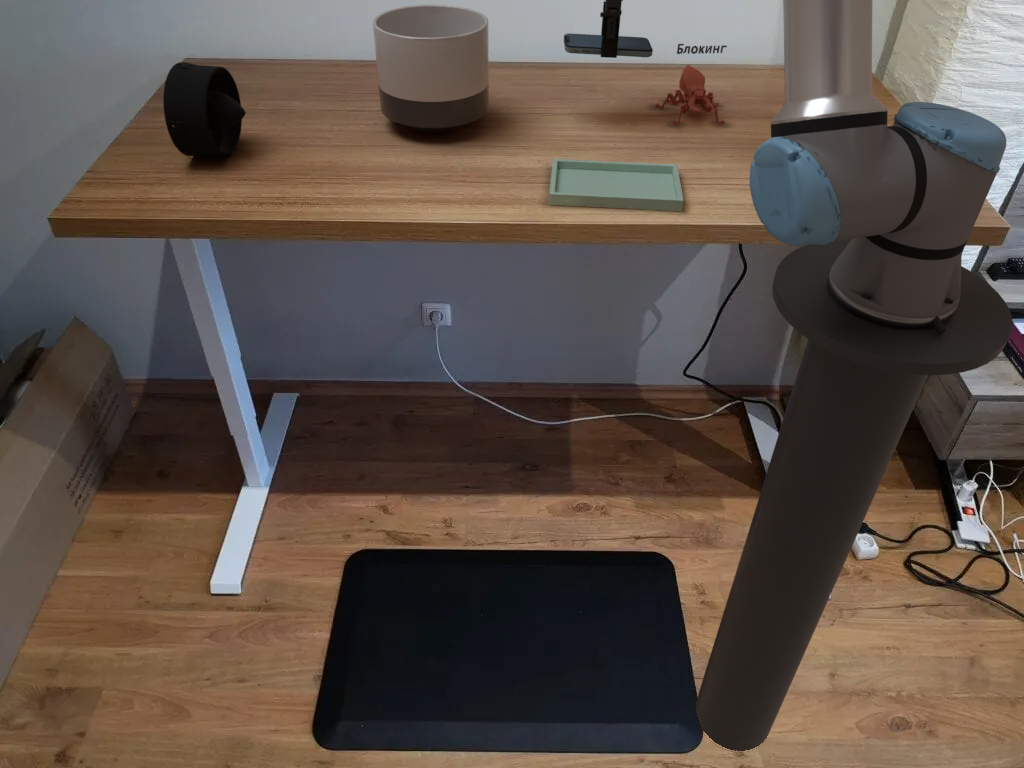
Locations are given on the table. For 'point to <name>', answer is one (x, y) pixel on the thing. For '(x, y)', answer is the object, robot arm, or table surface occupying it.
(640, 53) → the smartphone
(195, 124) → the black ducted fan
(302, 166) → the table surface
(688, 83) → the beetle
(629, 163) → the green tray
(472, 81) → the planter
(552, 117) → the table surface
